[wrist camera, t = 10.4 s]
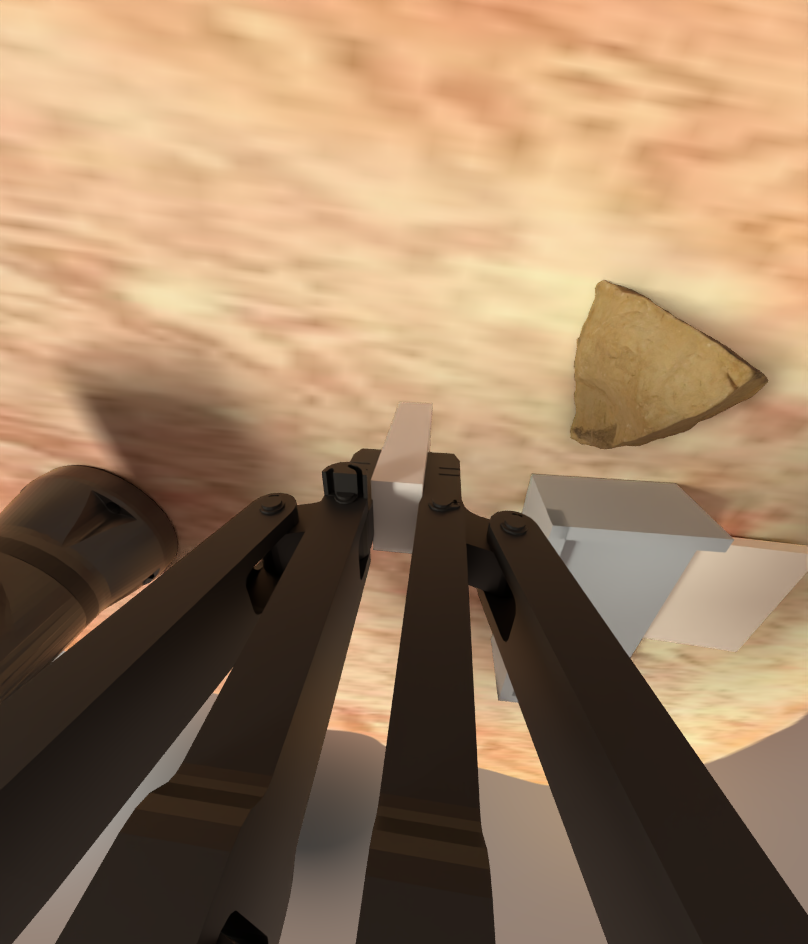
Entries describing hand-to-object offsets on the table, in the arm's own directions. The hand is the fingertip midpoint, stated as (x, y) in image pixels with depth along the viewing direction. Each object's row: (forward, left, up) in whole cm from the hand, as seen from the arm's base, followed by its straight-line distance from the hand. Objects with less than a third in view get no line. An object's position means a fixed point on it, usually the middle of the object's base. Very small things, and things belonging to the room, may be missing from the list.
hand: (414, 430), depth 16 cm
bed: (+16, -21, -12) cm, 29 cm away
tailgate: (+23, -21, -12) cm, 34 cm away
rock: (+13, 0, -13) cm, 18 cm away
